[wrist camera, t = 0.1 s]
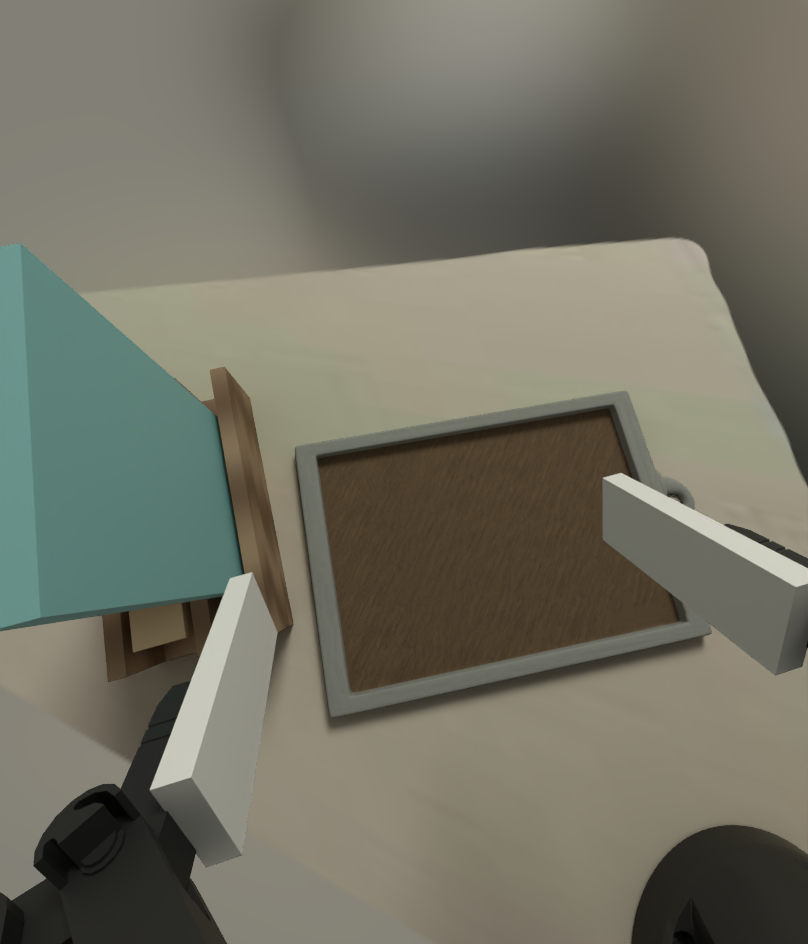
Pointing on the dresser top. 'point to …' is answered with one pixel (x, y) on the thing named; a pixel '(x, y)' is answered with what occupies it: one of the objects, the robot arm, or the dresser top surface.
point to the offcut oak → (160, 625)
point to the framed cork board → (478, 551)
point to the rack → (252, 534)
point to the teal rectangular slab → (99, 465)
